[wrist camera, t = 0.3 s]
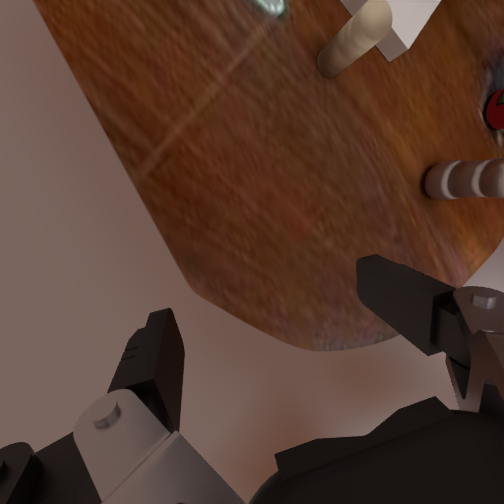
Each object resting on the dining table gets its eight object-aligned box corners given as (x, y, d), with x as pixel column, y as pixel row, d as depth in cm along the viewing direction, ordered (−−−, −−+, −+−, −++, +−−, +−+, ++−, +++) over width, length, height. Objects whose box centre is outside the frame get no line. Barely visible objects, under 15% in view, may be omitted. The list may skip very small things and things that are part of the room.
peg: (314, 50, 35) (358, 0, 26) (338, 43, 36) (389, -8, 27) (320, 81, 36) (365, 43, 27) (343, 74, 37) (394, 35, 28)
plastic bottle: (451, 168, 46) (638, 149, 27) (438, 204, 47) (609, 209, 28) (427, 157, 44) (609, 127, 25) (413, 194, 45) (579, 192, 26)
